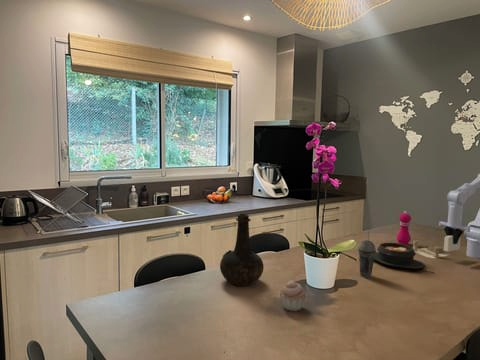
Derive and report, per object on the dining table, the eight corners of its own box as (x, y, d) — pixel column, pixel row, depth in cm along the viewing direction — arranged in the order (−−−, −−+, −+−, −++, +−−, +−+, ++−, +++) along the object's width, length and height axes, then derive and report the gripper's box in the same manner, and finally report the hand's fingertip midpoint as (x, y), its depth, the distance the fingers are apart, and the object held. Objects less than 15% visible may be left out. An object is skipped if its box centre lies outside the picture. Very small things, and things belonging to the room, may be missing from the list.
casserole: (361, 261, 178) (362, 244, 177) (378, 253, 191) (379, 237, 190) (415, 276, 160) (416, 257, 159) (429, 266, 173) (431, 248, 172)
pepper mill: (411, 248, 200) (414, 212, 198) (397, 247, 202) (400, 211, 200) (408, 244, 208) (410, 210, 205) (394, 243, 209) (397, 209, 207)
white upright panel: (443, 250, 178) (444, 236, 177) (455, 248, 182) (456, 234, 181) (447, 251, 176) (448, 237, 175) (459, 249, 180) (460, 235, 179)
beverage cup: (355, 277, 158) (357, 231, 155) (358, 271, 164) (360, 227, 162) (373, 280, 154) (376, 233, 152) (375, 274, 161) (378, 230, 158)
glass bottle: (234, 270, 163) (235, 208, 159) (270, 279, 153) (272, 213, 150) (210, 284, 147) (211, 215, 144) (249, 294, 138) (251, 221, 135)
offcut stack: (432, 249, 196) (432, 245, 196) (442, 252, 191) (443, 248, 190) (426, 250, 194) (427, 246, 194) (437, 253, 189) (437, 249, 188)
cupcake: (311, 310, 126) (313, 282, 125) (290, 316, 122) (291, 287, 121) (294, 299, 134) (295, 273, 133) (273, 304, 130) (274, 277, 129)
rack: (426, 249, 200) (427, 238, 199) (451, 256, 188) (452, 245, 187) (407, 252, 193) (408, 241, 193) (431, 260, 181) (432, 248, 180)
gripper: (435, 213, 182) (433, 240, 183) (464, 219, 169) (462, 248, 170) (445, 212, 185) (442, 238, 186) (474, 218, 172) (471, 246, 174)
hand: (452, 243), depth 179 cm, fingers closed on white upright panel, 2 cm apart
